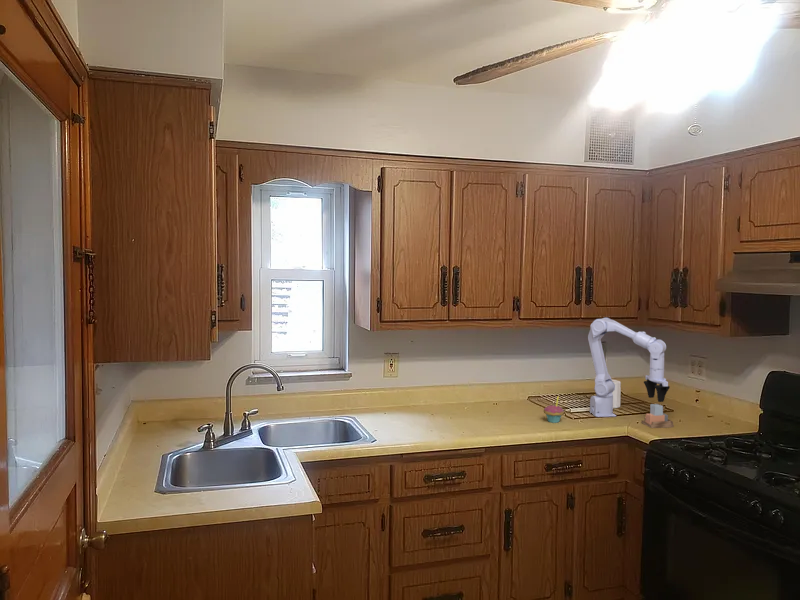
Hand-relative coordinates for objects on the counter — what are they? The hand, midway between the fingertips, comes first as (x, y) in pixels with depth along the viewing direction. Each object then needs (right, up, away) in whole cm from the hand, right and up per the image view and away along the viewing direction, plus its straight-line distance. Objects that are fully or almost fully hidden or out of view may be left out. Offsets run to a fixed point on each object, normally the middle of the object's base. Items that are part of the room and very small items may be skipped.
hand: (655, 399), depth 254 cm
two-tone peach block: (-1, -10, -2) cm, 10 cm away
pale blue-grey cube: (-1, -6, -2) cm, 6 cm away
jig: (0, -11, -2) cm, 11 cm away
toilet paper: (-9, -9, +32) cm, 34 cm away
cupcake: (-43, -10, +4) cm, 45 cm away
